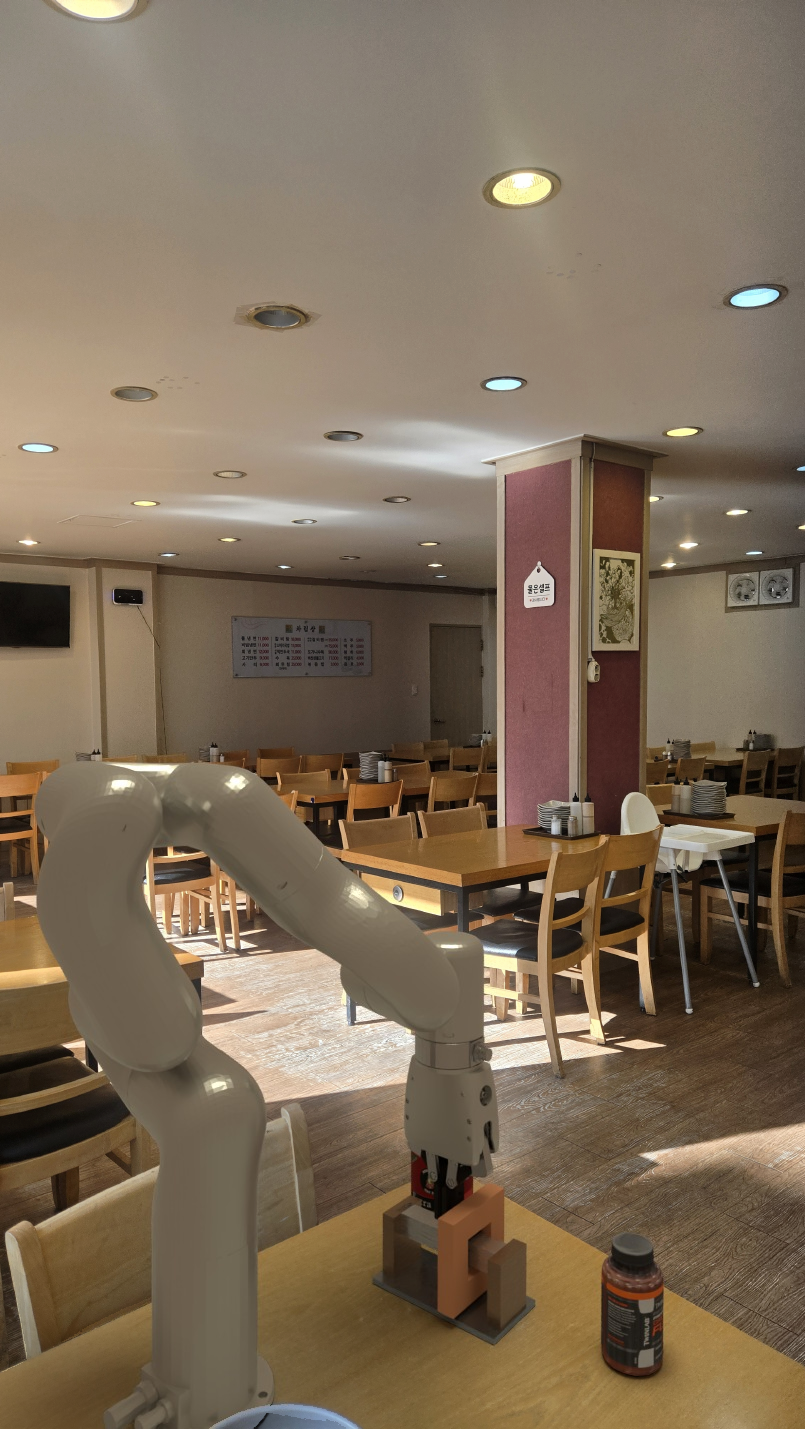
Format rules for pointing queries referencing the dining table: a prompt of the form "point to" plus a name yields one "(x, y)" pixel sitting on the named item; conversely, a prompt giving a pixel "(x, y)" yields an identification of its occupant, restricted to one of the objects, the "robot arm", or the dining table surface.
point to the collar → (466, 1247)
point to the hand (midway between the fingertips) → (448, 1215)
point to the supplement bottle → (632, 1306)
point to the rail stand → (417, 1271)
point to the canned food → (428, 1183)
